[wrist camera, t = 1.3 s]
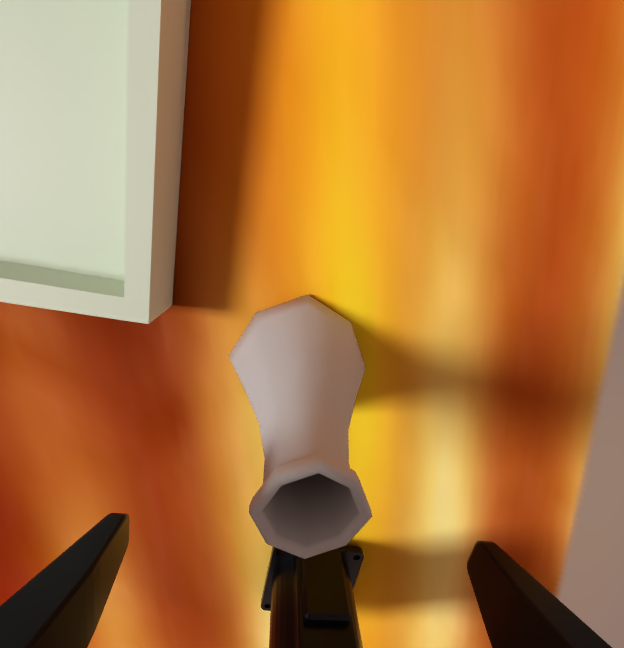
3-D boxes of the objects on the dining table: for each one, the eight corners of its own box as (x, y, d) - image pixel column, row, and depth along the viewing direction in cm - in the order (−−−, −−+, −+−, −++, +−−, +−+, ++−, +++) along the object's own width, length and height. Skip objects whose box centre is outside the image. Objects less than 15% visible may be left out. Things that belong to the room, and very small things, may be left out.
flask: (310, 269, 17) (341, 340, 7) (385, 366, 19) (487, 520, 9) (205, 351, 18) (111, 509, 8) (289, 434, 20) (291, 636, 10)
